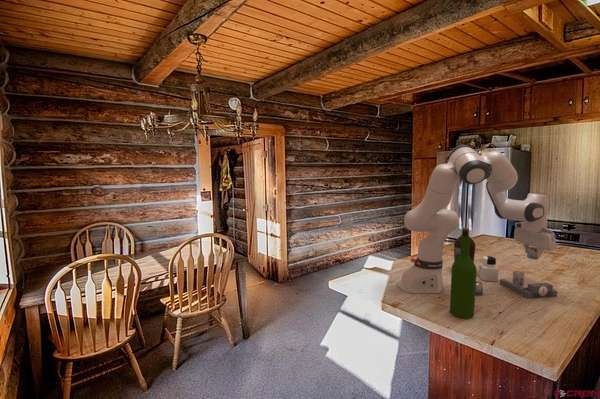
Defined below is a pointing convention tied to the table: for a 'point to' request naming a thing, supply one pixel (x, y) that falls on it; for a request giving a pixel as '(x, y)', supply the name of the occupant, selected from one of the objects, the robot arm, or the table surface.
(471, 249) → the olive oil
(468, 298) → the wine bottle
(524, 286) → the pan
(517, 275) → the cylinder
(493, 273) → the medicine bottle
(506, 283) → the scale
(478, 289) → the cylinder
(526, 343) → the table surface
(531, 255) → the cylinder
